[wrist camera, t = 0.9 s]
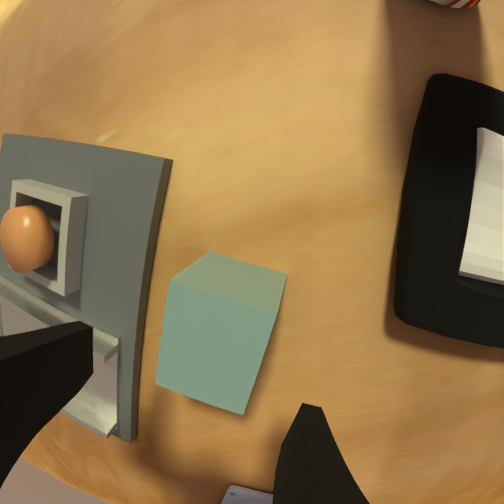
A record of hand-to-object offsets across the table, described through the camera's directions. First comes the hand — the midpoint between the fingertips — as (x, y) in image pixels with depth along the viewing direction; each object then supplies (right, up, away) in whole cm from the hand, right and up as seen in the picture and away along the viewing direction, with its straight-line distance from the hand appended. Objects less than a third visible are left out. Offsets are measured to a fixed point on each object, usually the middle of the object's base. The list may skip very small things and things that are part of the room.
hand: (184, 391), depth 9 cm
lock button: (-10, +5, +6) cm, 13 cm away
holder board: (-11, +2, +9) cm, 15 cm away
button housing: (-10, +6, +8) cm, 14 cm away
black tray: (+19, +6, +4) cm, 20 cm away
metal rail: (-12, -3, +9) cm, 16 cm away
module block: (+1, +2, +7) cm, 8 cm away
